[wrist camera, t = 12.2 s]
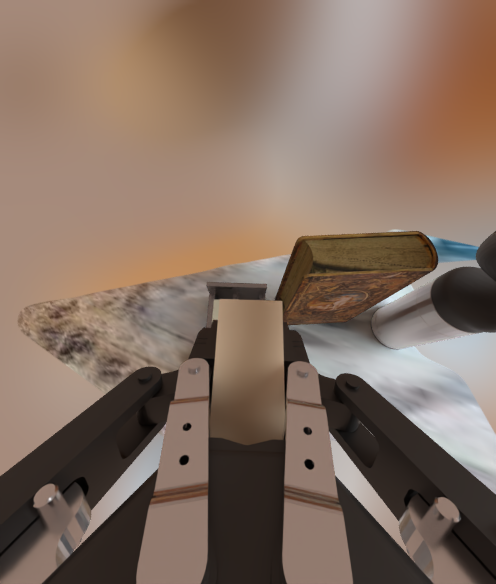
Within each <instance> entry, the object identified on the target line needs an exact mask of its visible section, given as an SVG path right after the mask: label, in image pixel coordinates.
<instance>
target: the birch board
mask: <svg viewBox="0 0 496 584" xmlns="http://www.w3.org/2000/svg"><path fill="white" fill-rule="evenodd" d="M284 421H285V391H284V350H283V310H282V301H270V300H237V299H220V300H219V313H218V325H217V338H216V351H215V363H214V376H213V389H212V402H211V414H210V430H211V437H213V438H224V439H227V440H230V441H233V442H237V443H240V444H243V445H251V444H255V443H260V442H264V441H268V440H272V439H274V440H282V435H283V428H284Z"/></svg>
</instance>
